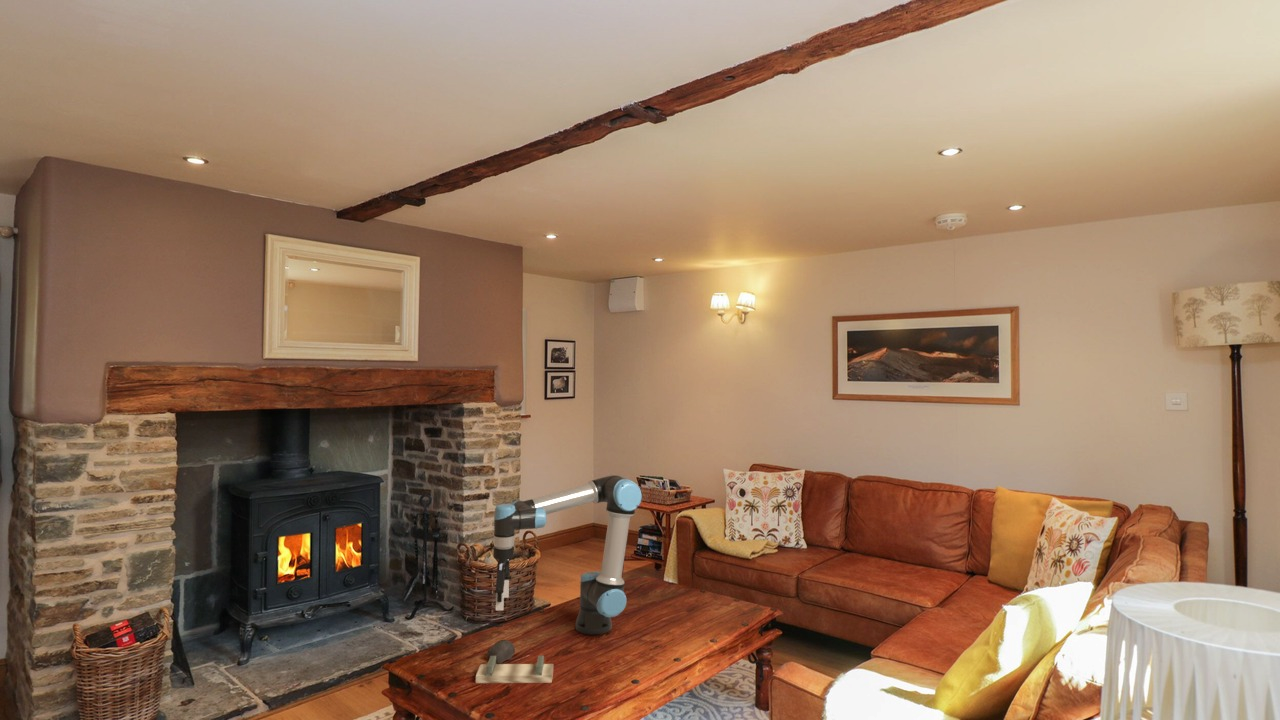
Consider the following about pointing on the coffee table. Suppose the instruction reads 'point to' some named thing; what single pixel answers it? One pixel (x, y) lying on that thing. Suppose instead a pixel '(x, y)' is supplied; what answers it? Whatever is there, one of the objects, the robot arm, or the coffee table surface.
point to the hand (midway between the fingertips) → (502, 603)
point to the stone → (502, 651)
